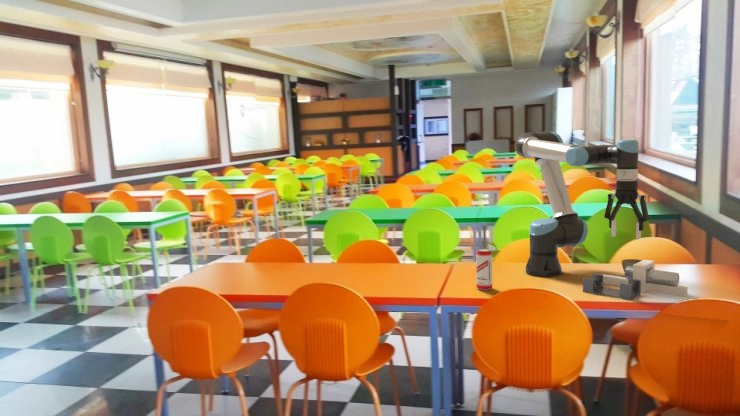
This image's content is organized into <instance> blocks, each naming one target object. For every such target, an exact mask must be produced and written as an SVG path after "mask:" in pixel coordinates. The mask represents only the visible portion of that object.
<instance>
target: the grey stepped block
mask: <svg viewBox="0 0 740 416" xmlns="http://www.w3.org/2000/svg"><path fill="white" fill-rule="evenodd" d="M641 260H642V261H640V262H638V263H636V264H634V265H633V279H636V280H641V291H640V293H643V294H644V293H645V291H646V292H647V291H648V292H649V291H650V292H655V293H662V294H668V295H674V296H679V297H680V296H681V297H686V296H688V291H689V290H688V288H689V286H685V285H680V284H678V286H671V285H664V284H658V283H651V282H646V269H653V270H656V267H655V265H656V262H655V260H650V259H649V260H648V259H641ZM620 283H625V284H628V279H626V278H625V276H619V275H610V274H604V273H603V285H604V284H607V285H610V286H611V285H612V286H617V287H620Z"/></svg>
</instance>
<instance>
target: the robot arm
mask: <svg viewBox="0 0 740 416" xmlns="http://www.w3.org/2000/svg"><path fill="white" fill-rule="evenodd" d="M514 151H515V152H516V154H517V155H518V156H520V157H522V158H525V159H534V162H535V164H536V165H537V166H539V168H540V171H541V175H542V178H543V181H544V182H543V183H544V186H545V190H546V193H547V197H548V200H549V203H550V204H549V205H550V207H551V211H552V217H547V218H539V219H536V220H533V221H532V222H530V224H529V231H528V233H529V257H528V260H527V263H526V265H525V273H526V274H527V275H531V276H533V277H547V278H548V277H550V278H551V277H557V276H560V275H561V274H562V273H563V271H562V270H563V269H562V265H561V263H560V260H559V259H560V258H559V257H558V248H564V247H575V246H577V245H581V244H583V243H584V242H585V241H586V238H587V237H588V233H589V231H588V229H589V228H588V225H587V223H586V221H585V220H584V219H582V218H580V217H579V214H578V212H576V211H575V210H573V205H572V202H571V199H570V196H569V192H568V188H567V185H566V181H565V178H564V174H563V171H562V167H561V164H560V162H561V163H566V164H568V165H569V166H572V167H582V166H595V165H616V179H617V180H616V183H615V187H616V188H615V190H616V191H615V193H608V194H607V203H606V208H605V212H604V216H603V217H604V218H605V219H608V225H609V226H608V227H609V229H611V231H610V232H611V234H610V237H612V238H614V237H616V236H617V219H615V218H616V216H617V214H618V212H619V210H620V209H621V207H622V205H625V204H626V205H629V206H630V207H631V208H632V211H633V212H634V215H635V216H636V219H637V221H638V222H636V225H635V226H636V228H635V229H636V230H635V239H636V240H640V239H642V236H641V235H642V231H643V230H644V225H645V222H648V221H650V216H649V211H648V207H647V202H646V201H647V195H646V194H640V193H638V190H639V189H638V188H639V187H638V186H639V185H638V179H639V152H640V149H639V141H638V140H636V139H619V140H617V142H616V144H599V145H585V146H584V145H578V144H577V145H576V144H571V143H564V141H563V139H562V137H561V135H559V134H558V133H557V132H554V131H537V132H535V131H534V132H529V131H528V132H525V133H522V134H520V135H519V136H518V137H517V138H516V139H515V141H514ZM615 198H616V199H617V201H616V203H615V205H614V207H613V204H614V200H615ZM637 199H638V200H639V203H640V205H638V203H637V201H636V200H637ZM639 206H640V208H639ZM612 209H613V210H612Z"/></svg>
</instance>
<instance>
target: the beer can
mask: <svg viewBox="0 0 740 416" xmlns="http://www.w3.org/2000/svg"><path fill="white" fill-rule="evenodd" d="M475 257H476V258H475V262H476V263H475V265H476V266H475V268H476V271H475V272H476V274H475V275H476V276H475V277H476V279H475V280H476V288H477V289H478V290H479V291H491V290H492V288H493V253H492V252H491V249H490V248H478V249H477V252H476V254H475Z"/></svg>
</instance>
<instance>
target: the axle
mask: <svg viewBox="0 0 740 416" xmlns="http://www.w3.org/2000/svg"><path fill="white" fill-rule="evenodd" d="M624 277H625V278H626V279H633V267H631V266H627V267H626V269H625V272H624ZM646 282H651V283H658V284H664V285H671V286H678V285H679V283H680V274H679V272H674V271H667V270H660V269H654V270H653V269H646Z"/></svg>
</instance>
